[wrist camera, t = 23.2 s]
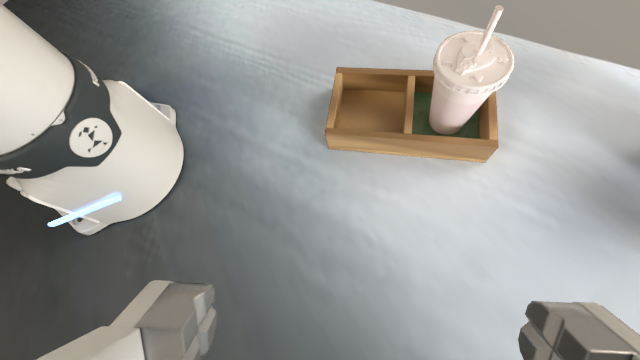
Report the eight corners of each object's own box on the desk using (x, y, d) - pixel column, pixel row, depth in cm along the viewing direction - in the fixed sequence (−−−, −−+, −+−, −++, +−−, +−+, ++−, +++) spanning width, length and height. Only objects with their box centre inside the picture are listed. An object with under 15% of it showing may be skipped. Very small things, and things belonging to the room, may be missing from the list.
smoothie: (488, 118, 34) (564, 6, 21) (450, 156, 33) (507, 62, 20) (440, 88, 36) (483, -30, 23) (404, 122, 35) (428, 19, 22)
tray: (339, 86, 39) (336, 67, 36) (483, 93, 36) (495, 72, 33) (328, 148, 36) (324, 133, 33) (485, 162, 33) (498, 147, 30)
